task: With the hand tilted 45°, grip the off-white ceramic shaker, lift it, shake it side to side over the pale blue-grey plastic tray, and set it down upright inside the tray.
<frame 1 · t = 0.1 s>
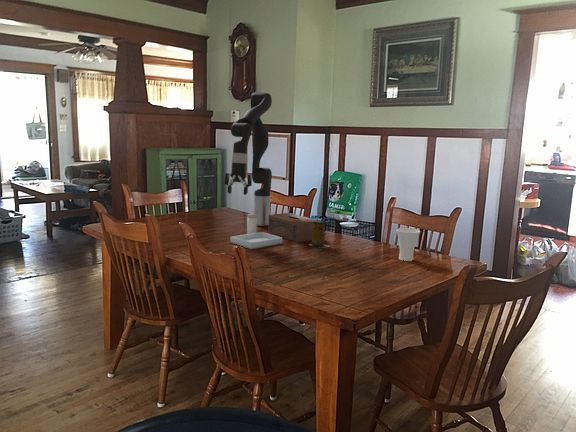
hand: (237, 194, 254), 22 cm above the table, tool pointing down, fingers open, 8 cm apart
cup: (405, 259, 225), on the table
tissue box cover: (292, 236, 265), on the table
shaker: (251, 234, 264), on the table
condiment: (319, 246, 245), on the table
tray: (256, 243, 246), on the table
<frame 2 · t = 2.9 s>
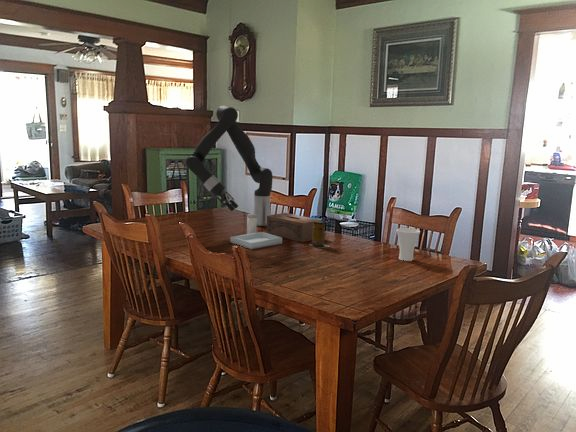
hand: (235, 208, 262), 13 cm above the table, tool tilted 45°, fingers open, 8 cm apart
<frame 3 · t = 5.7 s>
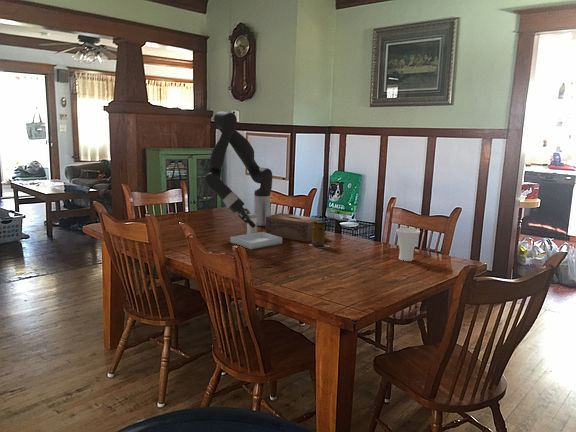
hand: (255, 225, 263), 5 cm above the table, tool tilted 45°, fingers closed on shaker, 5 cm apart
shaker: (251, 234, 264), on the table, touching gripper
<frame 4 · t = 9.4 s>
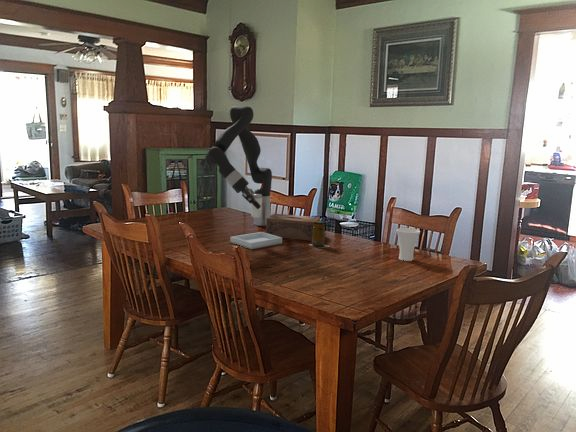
hand: (260, 206, 242), 18 cm above the table, tool tilted 45°, fingers closed on shaker, 5 cm apart
shaker: (256, 216, 243), point 13 cm above the table, touching gripper
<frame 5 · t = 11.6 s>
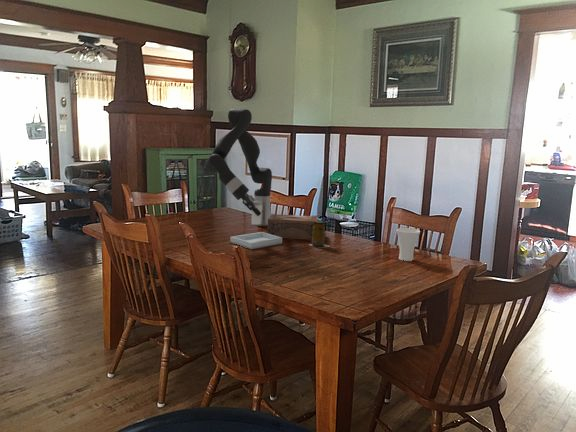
hand: (260, 213, 243), 15 cm above the table, tool tilted 45°, fingers closed on shaker, 5 cm apart
shaker: (256, 223, 244), point 10 cm above the table, touching gripper
when the fingers open (7 cm above the table, at t = 13.3 s): shaker drops 2 cm, resting on tray.
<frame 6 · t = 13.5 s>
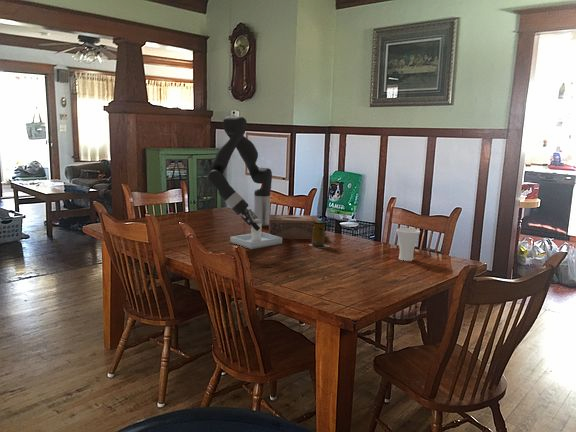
hand: (259, 228, 244), 8 cm above the table, tool tilted 45°, fingers open, 6 cm apart
shaker: (256, 241, 245), point 1 cm above the table, touching tray
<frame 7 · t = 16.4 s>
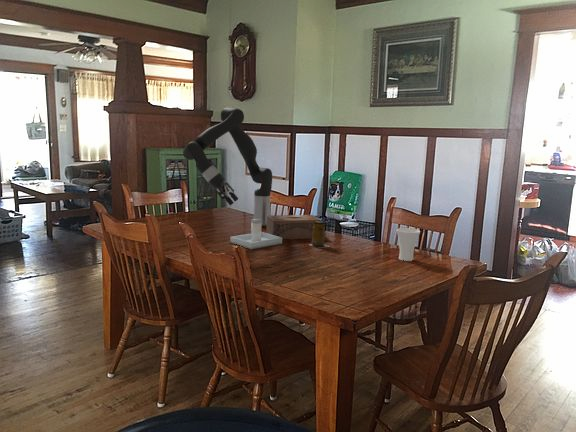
hand: (234, 202, 246), 19 cm above the table, tool tilted 40°, fingers open, 8 cm apart
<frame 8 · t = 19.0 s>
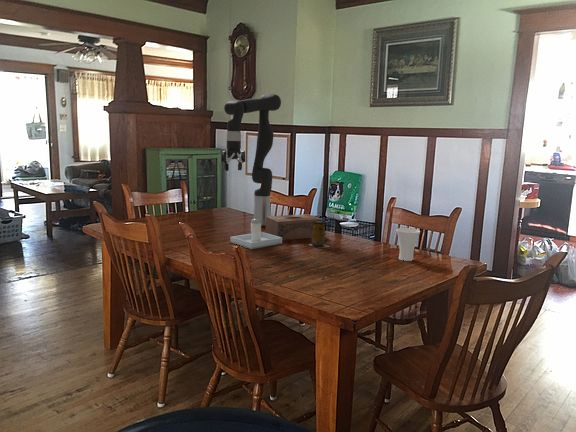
hand: (233, 170, 265), 33 cm above the table, tool pointing down, fingers open, 8 cm apart
at the end: shaker inside the target area on the tray (0.2 cm from its centre), point 0.9 cm above the tray's base; shaker tilted 1°; the gripper is holding nothing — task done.
